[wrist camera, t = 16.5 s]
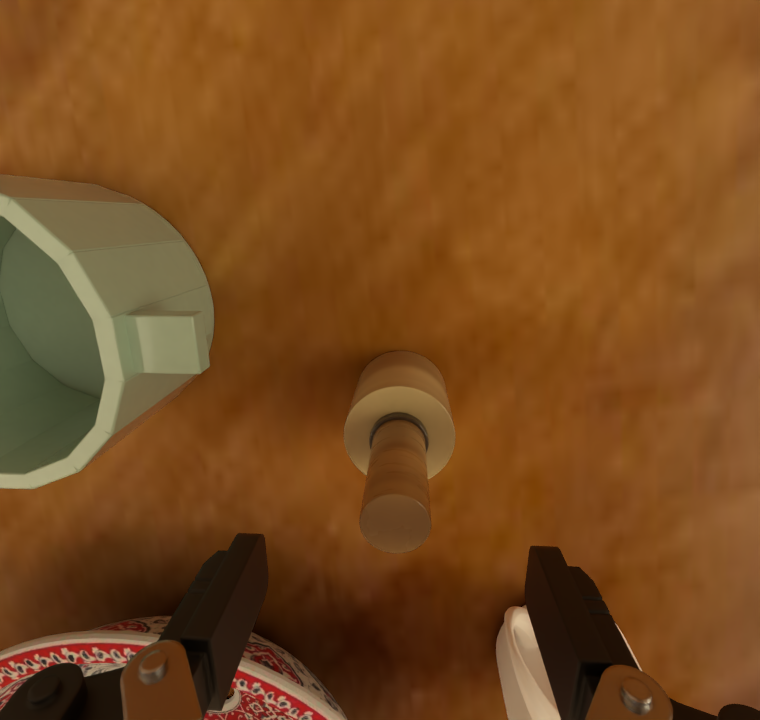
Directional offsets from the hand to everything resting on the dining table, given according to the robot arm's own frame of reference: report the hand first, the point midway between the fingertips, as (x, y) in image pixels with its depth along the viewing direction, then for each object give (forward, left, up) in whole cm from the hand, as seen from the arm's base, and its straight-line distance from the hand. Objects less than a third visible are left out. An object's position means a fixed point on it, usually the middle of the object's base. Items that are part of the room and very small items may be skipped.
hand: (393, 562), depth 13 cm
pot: (-5, -17, -13) cm, 22 cm away
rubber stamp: (0, 0, -13) cm, 13 cm away
